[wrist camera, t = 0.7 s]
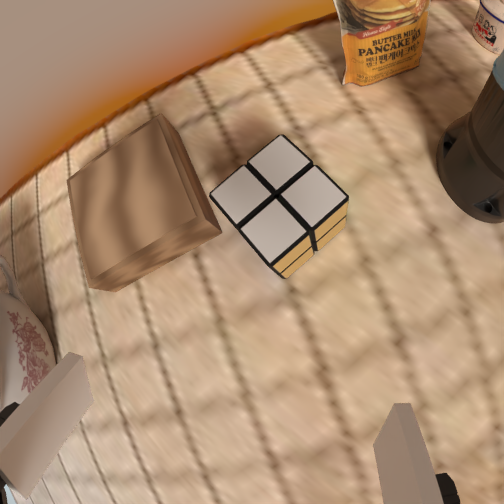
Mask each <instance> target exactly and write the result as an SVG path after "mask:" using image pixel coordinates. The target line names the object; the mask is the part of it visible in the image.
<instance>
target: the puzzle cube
mask: <svg viewBox="0 0 504 504" xmlns="http://www.w3.org/2000/svg"><path fill="white" fill-rule="evenodd" d="M209 197H210V198H211V200H212V201H213V202H214V203H215V204H216V206H217V207H218V208H219V209H220V210H221V211H222V213H223V214H224V215H225V216H226V217H227V219H228V220H229V221H230V222H231V223H232V224H233V226H234V227H235V228H236V229H237V230H238V231H239V233H240V234H241V235H242V236H243V237H244V239H245V240H246V241H247V242H248V243H249V245H250V246H251V247H252V248H253V249H254V250H255V252H256V253H257V254H258V255H259V256H260V258H261V259H262V260H263V261H264V262H265V263H266V265H267V266H268V267H269V268H270V269H272V270H273V271H274V272H275V273H276V274H277V275H279V276H280V277H281V278H282V279H287V278H288V277H289V276H290V275H291V274H292V273H294V272H295V271H296V270H297V269H298V268H299V267H300V266H302V265H303V264H304V263H305V262H306V261H307V260H308V259H310V258H311V257H312V256H313V255H314V251H319V250H320V249H321V248H322V247H323V246H324V245H325V244H327V243H328V242H329V241H330V240H331V239H332V238H333V237H334V236H335V235H337V234H338V233H339V232H340V231H341V230H342V229H343V228H344V227H345V222H346V214H347V208H348V201H349V196H348V195H347V194H346V193H345V192H344V191H343V190H342V189H341V188H340V187H339V186H338V185H337V184H336V183H335V182H334V181H333V180H332V179H331V178H330V177H329V176H328V175H327V174H326V173H325V172H324V171H323V170H322V169H321V168H320V167H319V166H318V165H313V161H312V160H311V159H310V158H309V157H308V156H307V155H306V154H305V153H303V152H302V151H301V150H300V149H299V148H298V147H297V146H296V145H295V144H294V143H292V142H291V141H290V140H289V139H288V138H287V137H286V136H285V135H278V136H277V137H276V138H275V139H273V140H272V141H271V142H270V143H268V144H267V145H266V146H265V147H264V148H262V149H261V150H260V151H259V152H257V153H256V154H255V155H254V156H253V157H251V158H250V159H249V160H248V161H247V165H242V166H240V167H239V168H238V169H237V170H236V171H234V172H233V173H232V174H231V175H230V176H229V177H227V178H226V179H225V180H224V181H223V182H222V183H220V184H219V185H218V186H217V187H216V188H215V189H214V190H212V191H211V192H210V195H209Z"/></svg>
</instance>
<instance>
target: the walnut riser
mask: <svg viewBox="0 0 504 504" xmlns="http://www.w3.org/2000/svg"><path fill="white" fill-rule="evenodd" d="M67 185H68V192H69V198H70V204H71V210H72V215H73V221H74V226H75V231H76V236H77V240H78V245H79V249H80V254H81V258H82V262H83V266H84V270H85V274H86V278H87V282H88V286H89V288H94V289H100V290H105V291H111V292H117V291H119V290H120V289H122V288H124V287H126V286H127V285H129V284H131V283H133V282H134V281H136V280H138V279H140V278H141V277H143V276H145V275H147V274H149V273H150V272H152V271H154V270H156V269H157V268H159V267H161V266H163V265H165V264H166V263H168V262H170V261H172V260H174V259H175V258H177V257H179V256H181V255H183V254H185V253H186V252H188V251H190V250H192V249H194V248H196V247H197V246H199V245H201V244H203V243H205V242H207V241H208V240H210V239H212V238H214V237H216V236H218V235H219V234H221V233H222V231H221V228H220V226H219V224H218V222H217V219H216V217H215V215H214V213H213V210H212V208H211V206H210V204H209V201H208V199H207V197H206V195H205V192H204V190H203V188H202V186H201V183H200V181H199V179H198V177H197V174H196V172H195V170H194V167H193V165H192V163H191V161H190V158H189V156H188V154H187V151H186V149H185V147H184V145H183V142H182V140H181V138H180V135H179V133H178V132H177V131H176V130H175V129H174V128H173V126H172V125H171V124H170V123H169V122H168V120H167V119H166V118H165V117H164V116H163V114H162V113H161V114H159V115H158V116H156V117H154V118H153V119H151V120H150V121H148V122H147V123H145V124H143V125H142V126H140V127H139V128H137V129H136V130H134V131H133V132H131V133H130V134H128V135H127V136H125V137H124V138H123V139H121V140H120V141H118V142H117V143H115V144H114V145H112V146H111V147H110V148H108V149H107V150H105V151H104V152H103V153H101V154H100V155H99V156H97V157H96V158H95V159H93V160H92V161H91V162H89V163H88V164H87V165H85V166H84V167H83V168H81V169H80V170H79V171H78V172H76V173H75V174H74V175H73V176H71V177H70V178H69V179H68V180H67Z"/></svg>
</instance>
